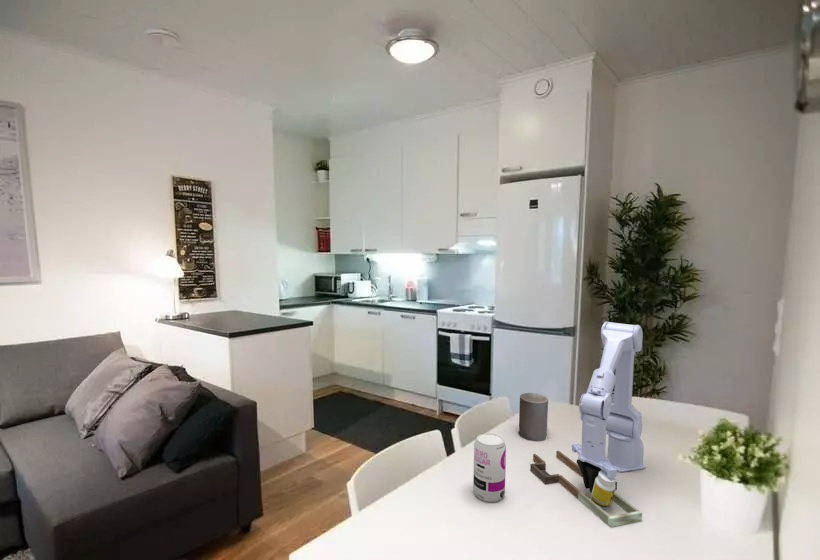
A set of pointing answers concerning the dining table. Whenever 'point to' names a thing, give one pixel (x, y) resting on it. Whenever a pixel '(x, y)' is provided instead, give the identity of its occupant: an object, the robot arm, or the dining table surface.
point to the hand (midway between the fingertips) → (591, 489)
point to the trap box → (611, 521)
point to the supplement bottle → (603, 490)
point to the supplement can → (489, 467)
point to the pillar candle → (533, 416)
